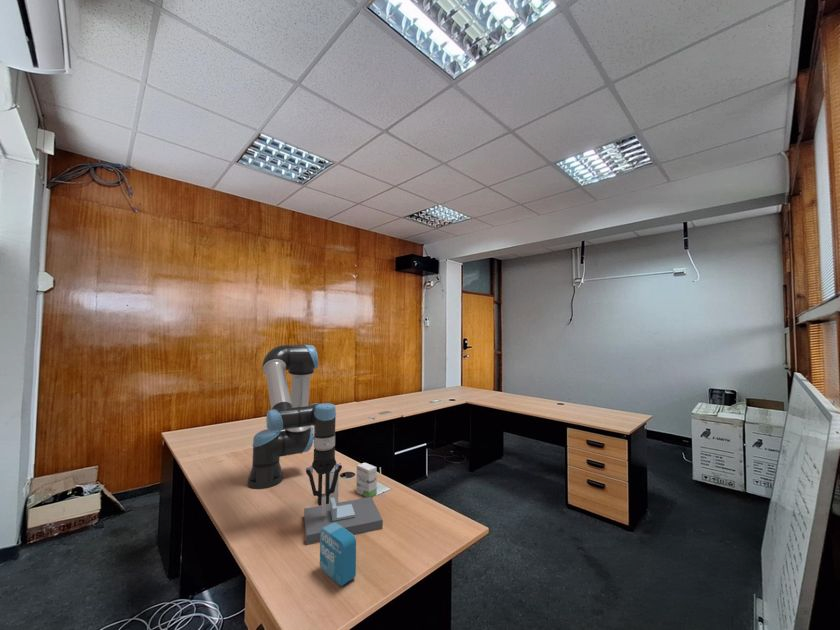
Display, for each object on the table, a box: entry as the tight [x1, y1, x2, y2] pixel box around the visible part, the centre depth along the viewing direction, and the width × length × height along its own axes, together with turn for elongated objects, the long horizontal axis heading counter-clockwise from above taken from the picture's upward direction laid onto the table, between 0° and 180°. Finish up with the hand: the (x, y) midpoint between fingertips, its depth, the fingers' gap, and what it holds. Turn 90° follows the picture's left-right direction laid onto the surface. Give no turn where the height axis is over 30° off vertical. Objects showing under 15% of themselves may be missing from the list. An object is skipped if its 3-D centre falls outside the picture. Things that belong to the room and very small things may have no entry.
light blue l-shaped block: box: [330, 498, 355, 521], centre depth 123 cm, size 8×8×4 cm
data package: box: [319, 522, 357, 587], centre depth 97 cm, size 12×4×12 cm, turn 48°
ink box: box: [356, 462, 378, 498], centre depth 145 cm, size 9×5×12 cm, turn 49°
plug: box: [324, 466, 340, 504], centre depth 139 cm, size 5×5×13 cm
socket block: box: [303, 496, 384, 546], centre depth 123 cm, size 18×26×3 cm
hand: (323, 513), depth 120 cm, fingers closed
